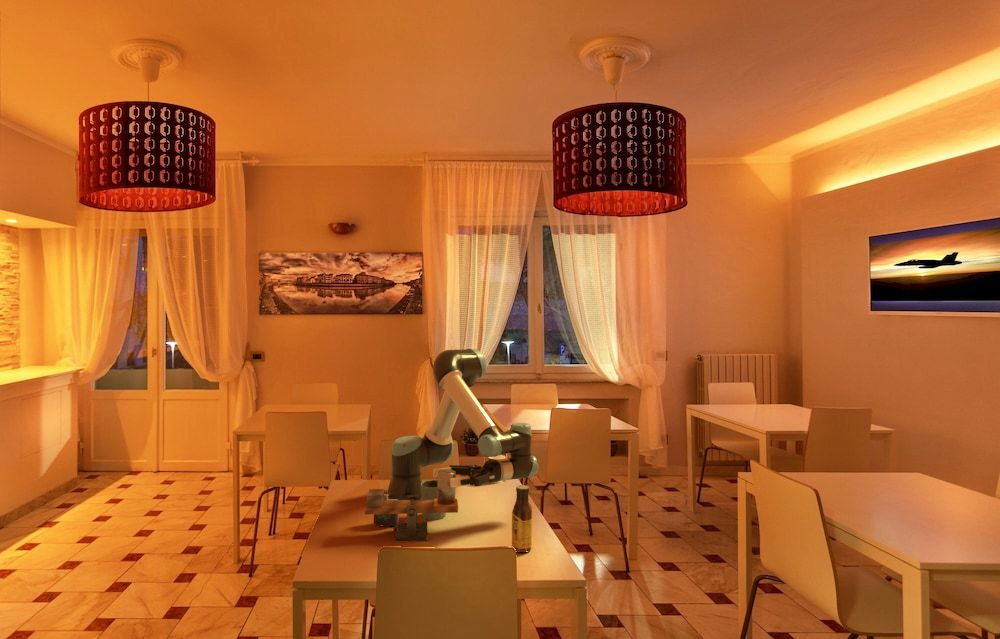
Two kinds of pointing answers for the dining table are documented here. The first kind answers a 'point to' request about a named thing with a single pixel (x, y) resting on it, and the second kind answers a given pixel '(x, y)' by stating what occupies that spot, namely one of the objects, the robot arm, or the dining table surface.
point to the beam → (404, 505)
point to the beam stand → (411, 526)
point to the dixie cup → (496, 459)
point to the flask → (386, 517)
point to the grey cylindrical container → (430, 498)
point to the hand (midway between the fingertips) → (441, 478)
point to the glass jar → (445, 487)
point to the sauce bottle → (522, 521)
